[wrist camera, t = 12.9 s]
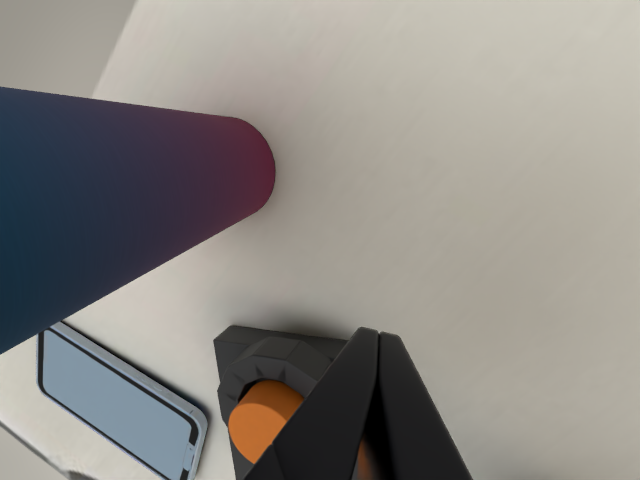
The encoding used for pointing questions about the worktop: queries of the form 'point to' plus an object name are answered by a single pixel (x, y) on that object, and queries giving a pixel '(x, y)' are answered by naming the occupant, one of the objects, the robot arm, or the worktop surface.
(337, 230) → the worktop surface
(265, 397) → the button
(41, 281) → the cup
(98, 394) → the smartphone
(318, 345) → the control block
